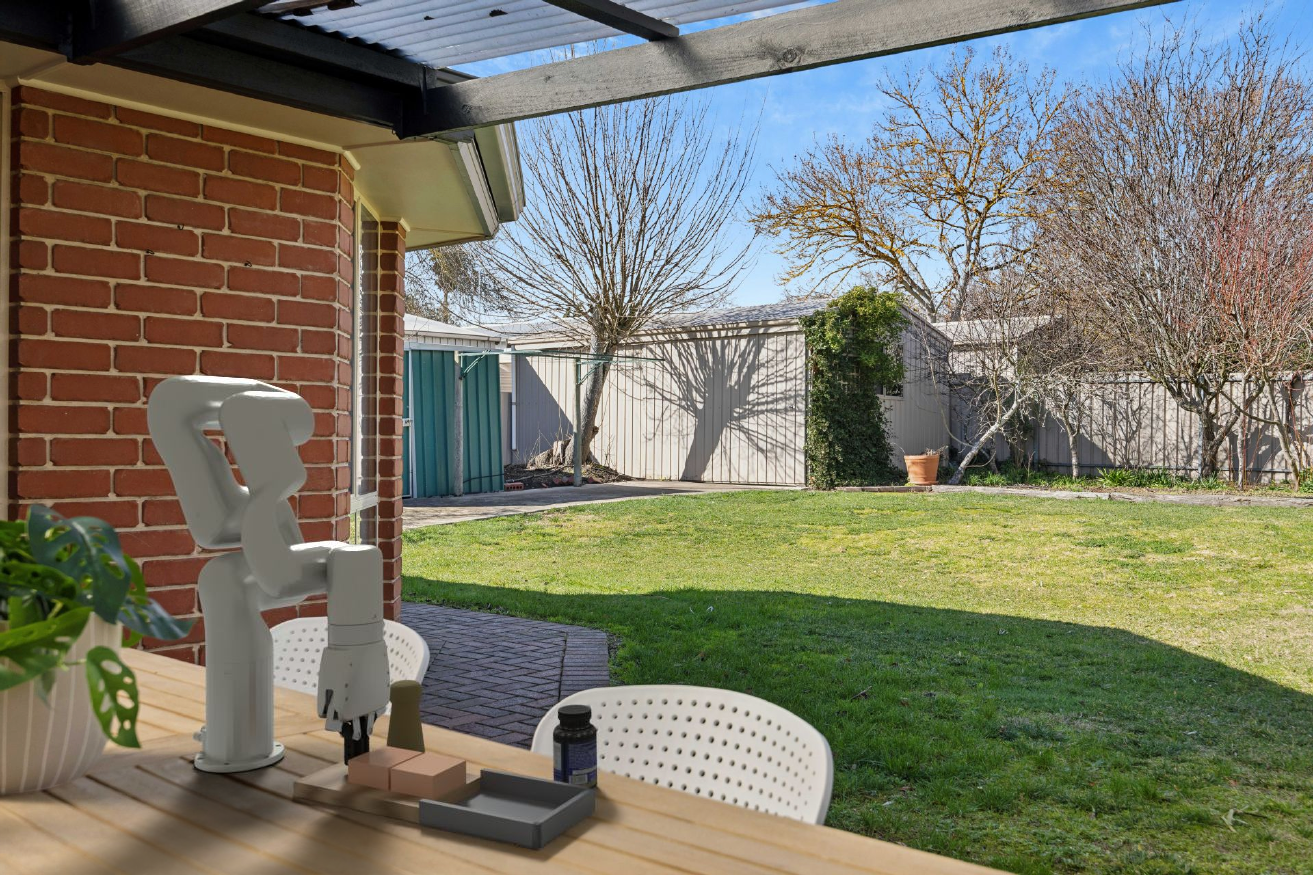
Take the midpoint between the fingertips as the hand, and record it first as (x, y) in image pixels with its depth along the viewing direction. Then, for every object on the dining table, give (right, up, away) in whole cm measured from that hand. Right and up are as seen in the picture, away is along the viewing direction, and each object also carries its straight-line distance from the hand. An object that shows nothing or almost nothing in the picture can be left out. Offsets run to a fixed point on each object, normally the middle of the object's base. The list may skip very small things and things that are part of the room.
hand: (356, 764), depth 136 cm
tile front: (+11, -1, -6) cm, 13 cm away
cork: (+3, -3, +15) cm, 16 cm away
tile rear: (+5, -1, -2) cm, 5 cm away
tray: (+23, -3, -11) cm, 26 cm away
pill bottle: (+31, -3, -1) cm, 31 cm away
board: (+5, -3, -3) cm, 6 cm away
